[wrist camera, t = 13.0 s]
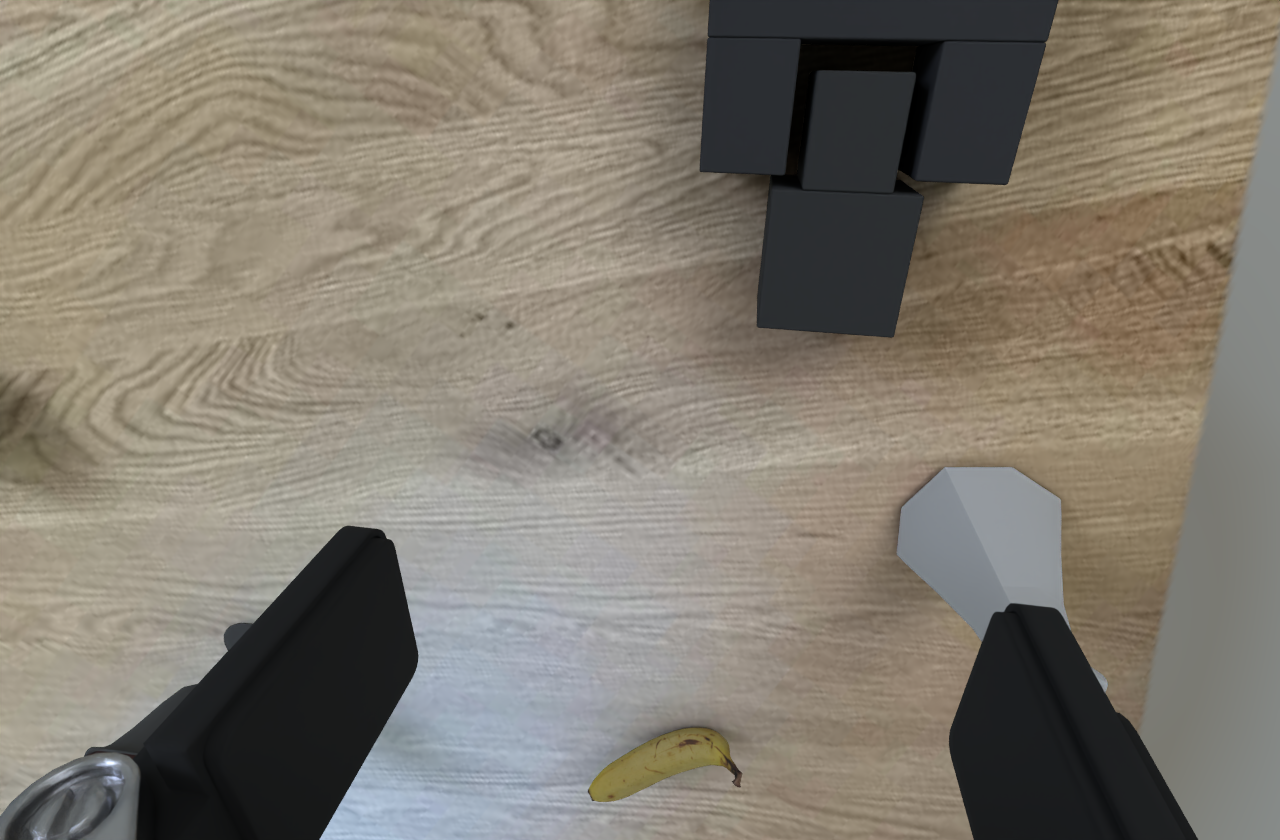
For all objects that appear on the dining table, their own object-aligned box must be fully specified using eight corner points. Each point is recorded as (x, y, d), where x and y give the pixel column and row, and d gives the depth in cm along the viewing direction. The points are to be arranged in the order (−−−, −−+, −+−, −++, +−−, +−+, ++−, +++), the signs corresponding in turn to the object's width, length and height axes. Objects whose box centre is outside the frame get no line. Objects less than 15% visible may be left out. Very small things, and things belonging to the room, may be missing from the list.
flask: (932, 442, 30) (1004, 594, 21) (1088, 485, 29) (1226, 656, 21) (871, 559, 33) (911, 730, 25) (1009, 598, 33) (1099, 785, 24)
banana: (609, 755, 44) (596, 813, 41) (594, 732, 43) (579, 789, 40) (750, 736, 41) (749, 797, 38) (737, 711, 40) (735, 771, 37)
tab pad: (877, 304, 27) (894, 338, 24) (757, 297, 28) (756, 328, 24) (923, 73, 23) (952, 72, 20) (781, 70, 24) (785, 69, 20)
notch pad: (972, 170, 24) (1008, 185, 21) (707, 159, 26) (699, 172, 22) (1059, -180, 20) (1123, -236, 16) (728, -171, 21) (723, -221, 18)
